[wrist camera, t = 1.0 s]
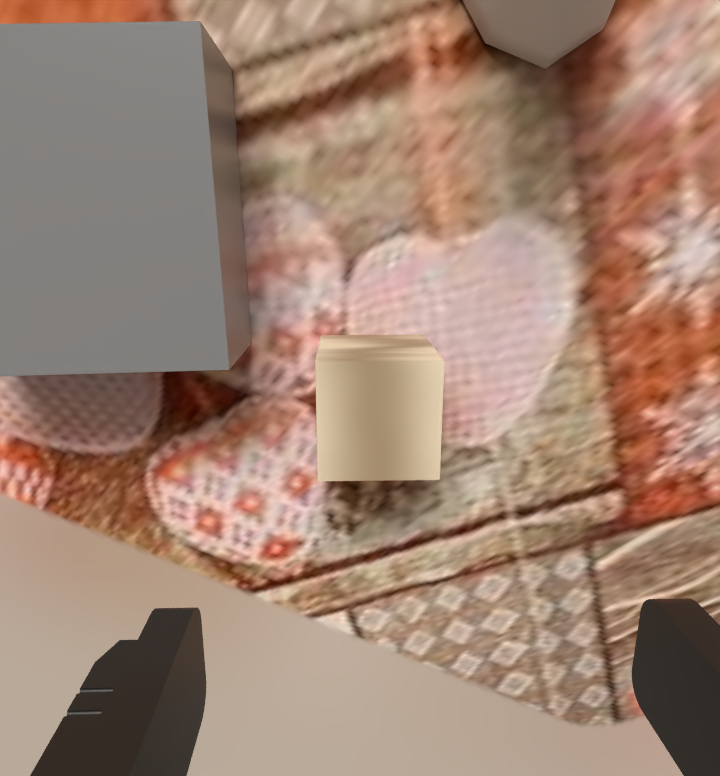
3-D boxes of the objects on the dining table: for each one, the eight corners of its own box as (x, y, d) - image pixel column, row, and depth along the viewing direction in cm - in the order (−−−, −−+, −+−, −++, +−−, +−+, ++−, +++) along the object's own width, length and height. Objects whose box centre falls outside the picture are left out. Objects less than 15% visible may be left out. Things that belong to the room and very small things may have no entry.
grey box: (233, 70, 25) (200, 21, 19) (252, 342, 28) (229, 369, 22) (-46, 75, 25) (-166, 26, 19) (5, 348, 28) (-84, 378, 22)
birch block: (423, 334, 28) (444, 360, 22) (420, 431, 29) (439, 479, 23) (320, 335, 28) (315, 361, 22) (322, 432, 29) (317, 481, 23)
